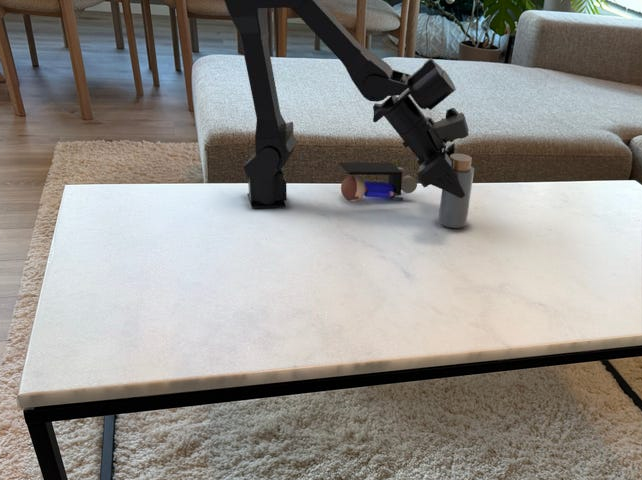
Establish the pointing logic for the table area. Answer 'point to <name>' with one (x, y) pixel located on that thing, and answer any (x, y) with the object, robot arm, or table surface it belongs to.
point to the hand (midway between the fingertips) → (463, 190)
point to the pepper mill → (452, 206)
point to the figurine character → (357, 188)
